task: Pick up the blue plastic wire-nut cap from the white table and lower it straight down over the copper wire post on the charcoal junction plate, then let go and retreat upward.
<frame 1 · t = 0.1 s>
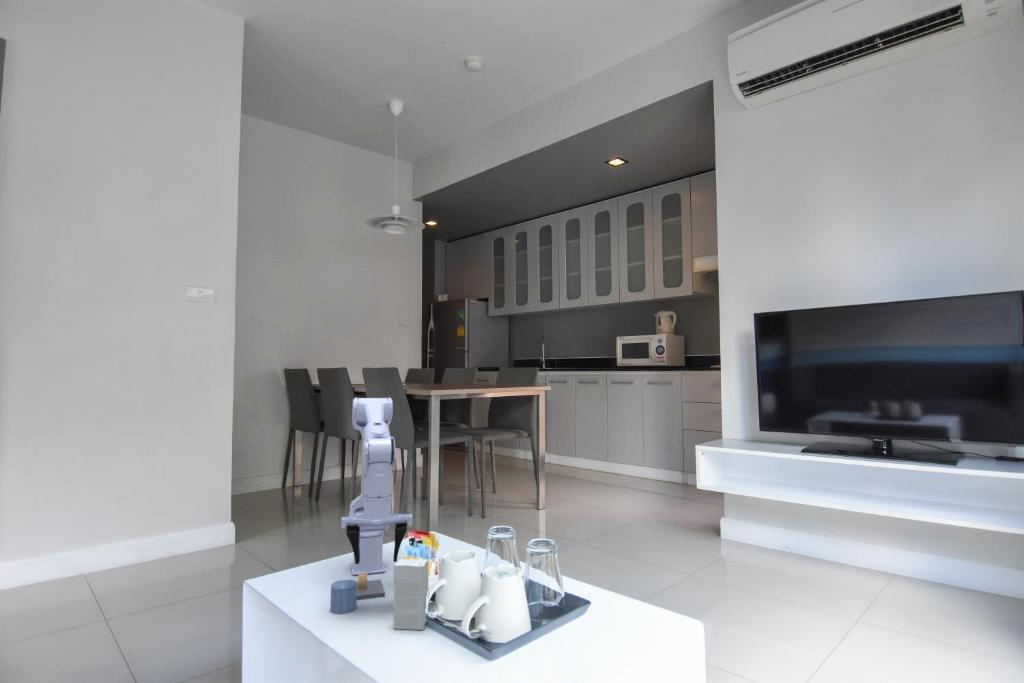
hand: (376, 561, 114), 10 cm above the table, tool pointing down, fingers open, 7 cm apart
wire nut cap: (343, 608, 114), on the table
skincare box: (410, 626, 106), on the table
junction plate: (362, 591, 124), on the table
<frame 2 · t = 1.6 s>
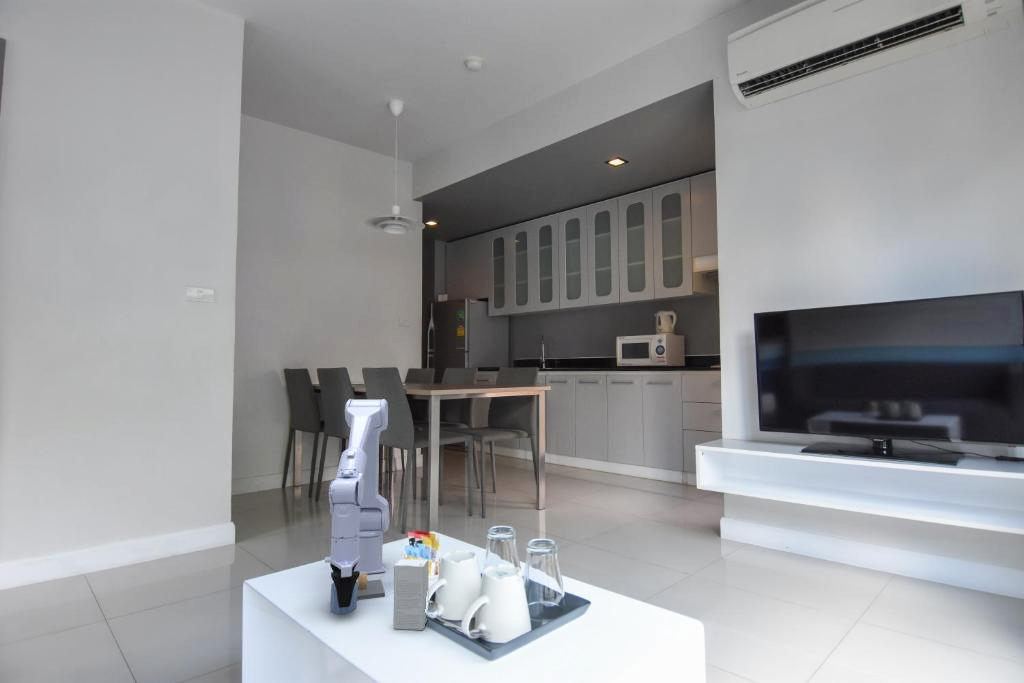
hand: (343, 601, 114), 1 cm above the table, tool pointing down, fingers closed on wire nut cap, 5 cm apart
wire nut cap: (343, 608, 114), on the table, touching gripper
everything else where it was.
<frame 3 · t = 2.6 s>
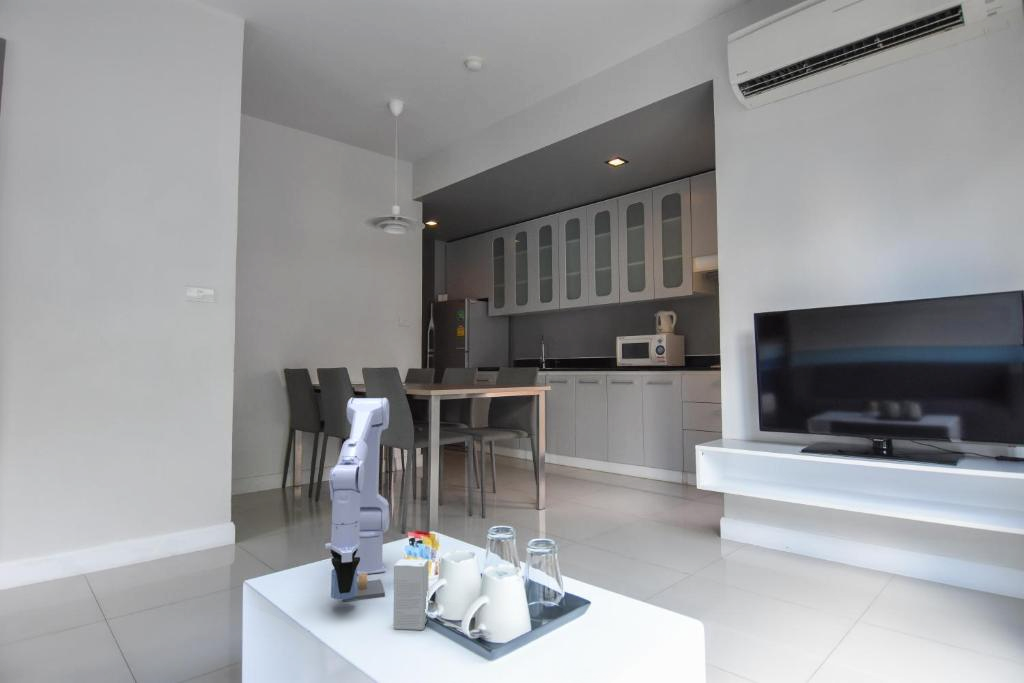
hand: (344, 587, 115), 4 cm above the table, tool pointing down, fingers closed on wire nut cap, 5 cm apart
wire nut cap: (343, 594, 115), point 3 cm above the table, touching gripper
everything else where it was.
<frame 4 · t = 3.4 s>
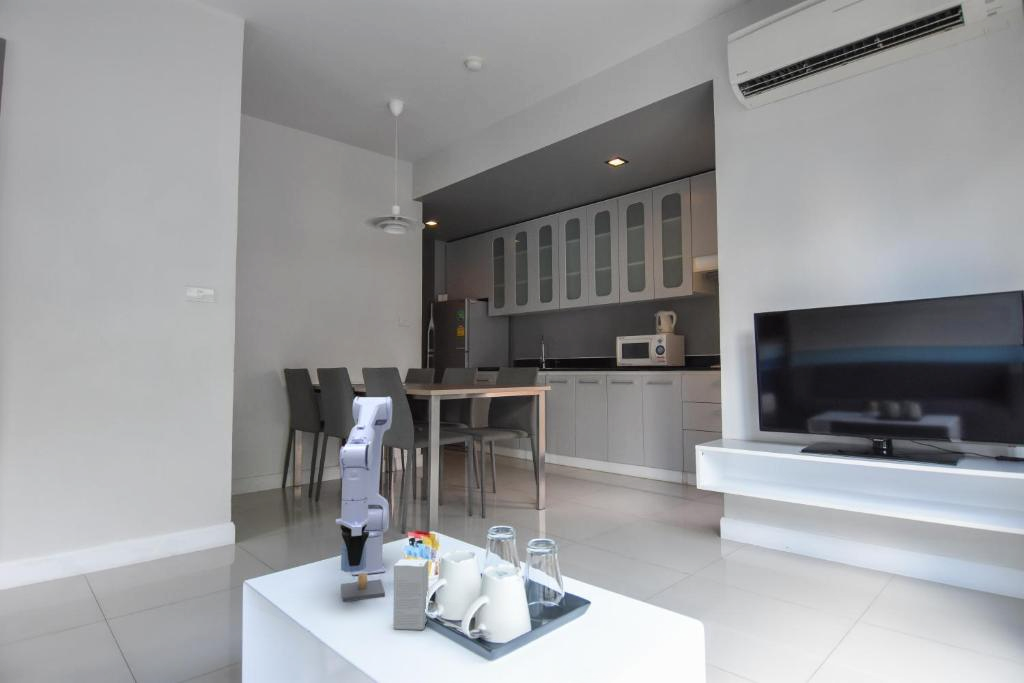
hand: (353, 561, 120), 8 cm above the table, tool pointing down, fingers closed on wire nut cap, 5 cm apart
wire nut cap: (353, 567, 119), point 7 cm above the table, touching gripper
everything else where it was.
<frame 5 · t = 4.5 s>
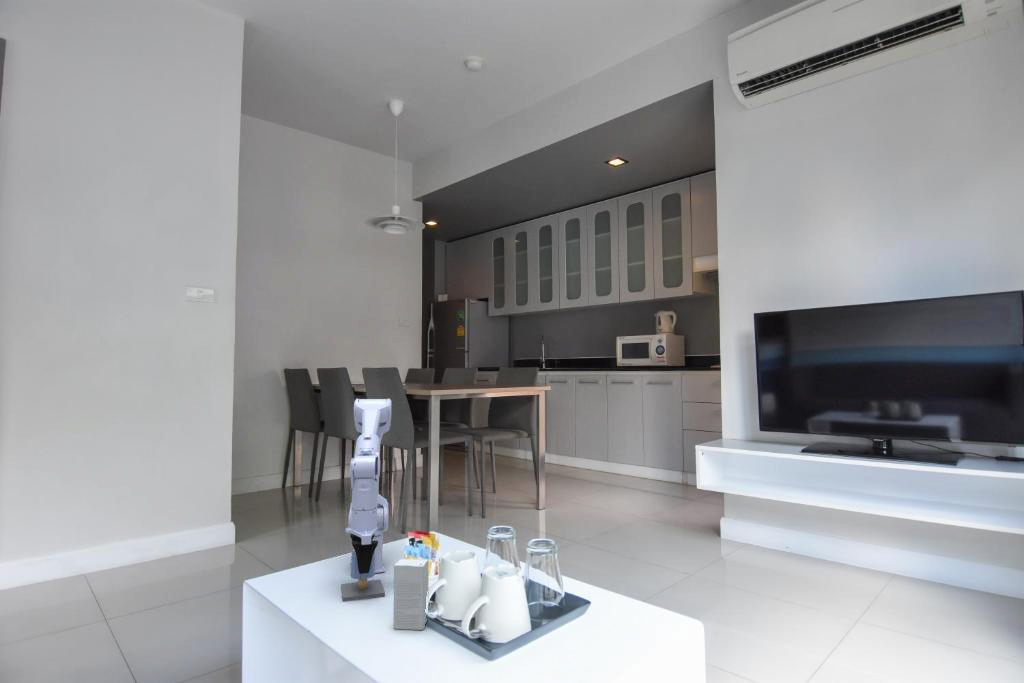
hand: (362, 569, 124), 5 cm above the table, tool pointing down, fingers closed on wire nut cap, 5 cm apart
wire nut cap: (362, 575, 124), point 4 cm above the table, touching gripper
everything else where it was.
when the fingers open (4 cm above the table, at t = 5.4 s): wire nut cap drops 2 cm, resting on junction plate.
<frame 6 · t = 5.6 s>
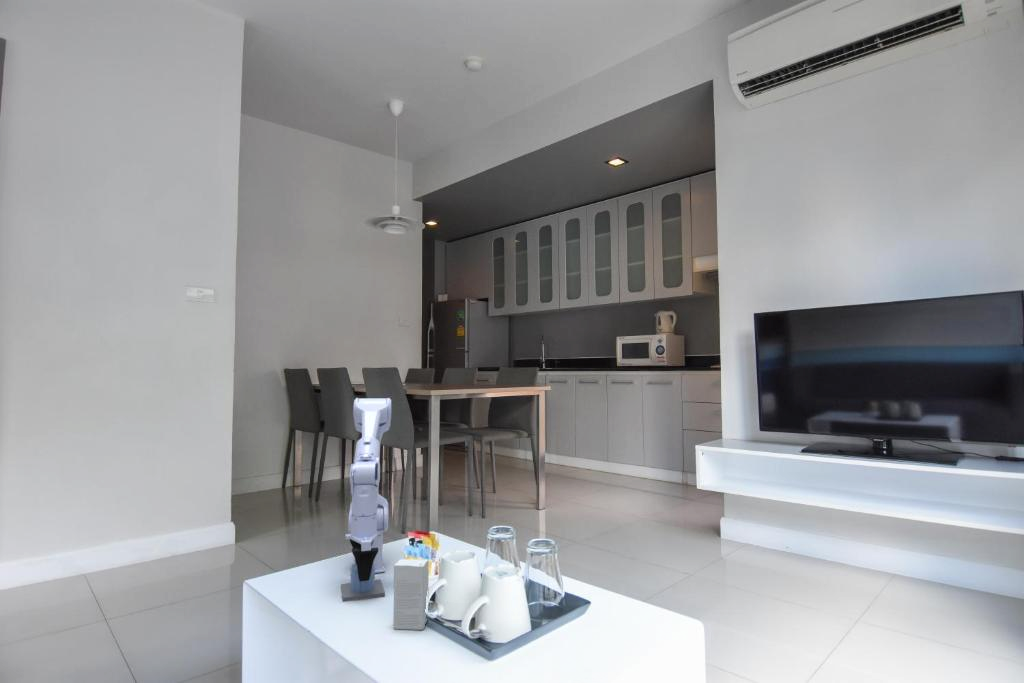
hand: (362, 575, 124), 4 cm above the table, tool pointing down, fingers open, 7 cm apart
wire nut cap: (362, 588, 124), point 1 cm above the table, touching junction plate
everything else where it was.
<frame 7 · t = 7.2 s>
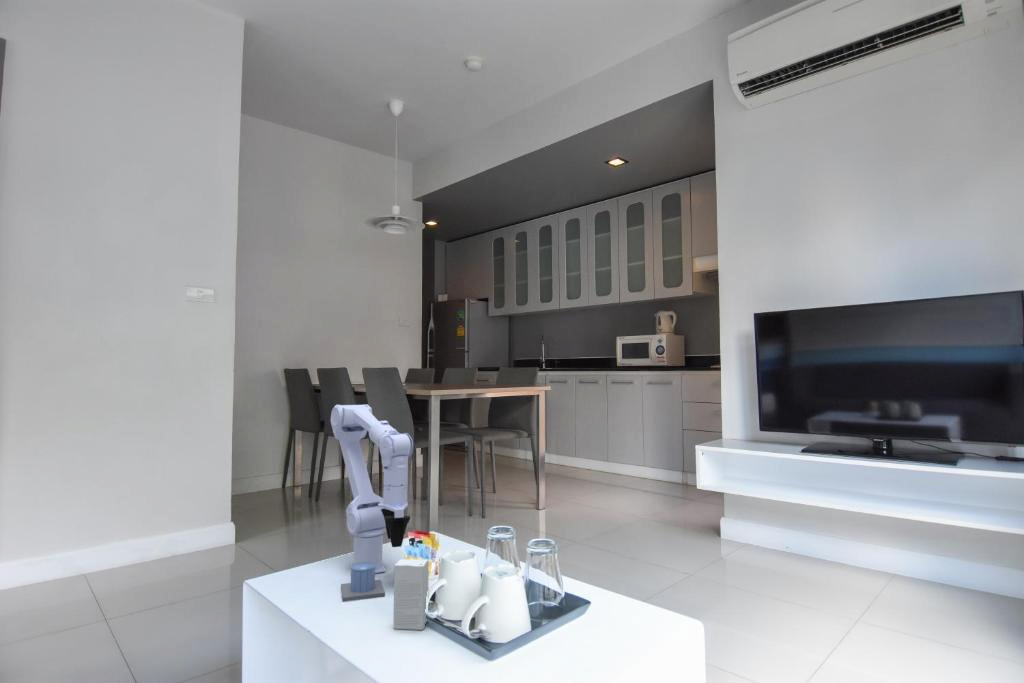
hand: (394, 542, 130), 9 cm above the table, tool pointing down, fingers open, 7 cm apart
nothing on the table moved.
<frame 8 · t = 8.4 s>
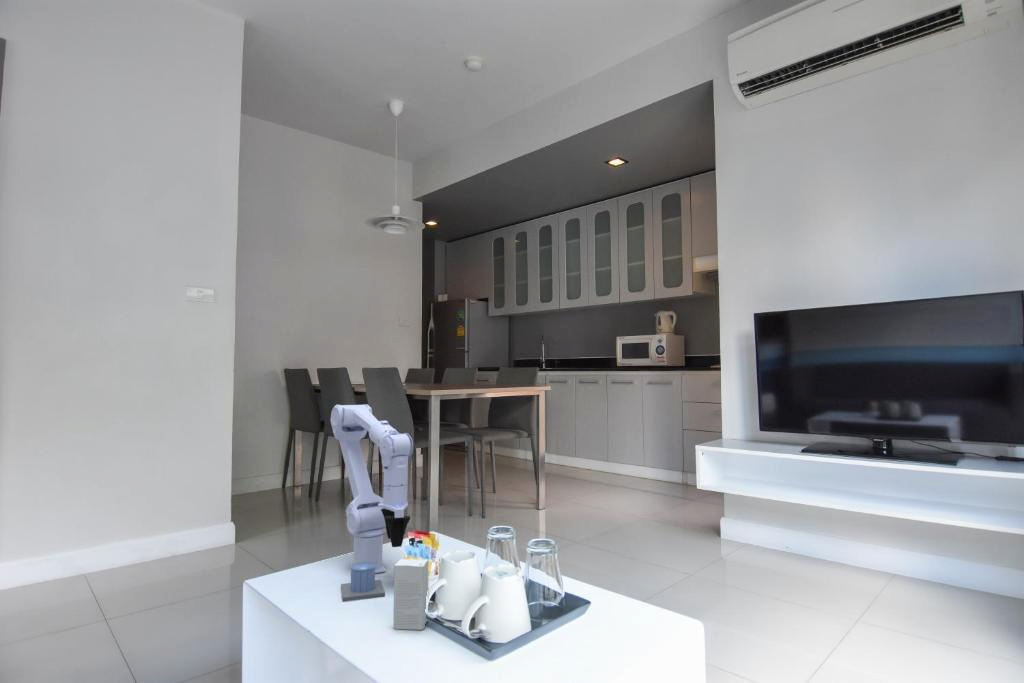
hand: (394, 542, 130), 9 cm above the table, tool pointing down, fingers open, 7 cm apart
nothing on the table moved.
at the end: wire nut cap 0.0 cm off-centre on the junction plate, point 0.8 cm above the junction plate's base; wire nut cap tilted 0°; the gripper is holding nothing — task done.
